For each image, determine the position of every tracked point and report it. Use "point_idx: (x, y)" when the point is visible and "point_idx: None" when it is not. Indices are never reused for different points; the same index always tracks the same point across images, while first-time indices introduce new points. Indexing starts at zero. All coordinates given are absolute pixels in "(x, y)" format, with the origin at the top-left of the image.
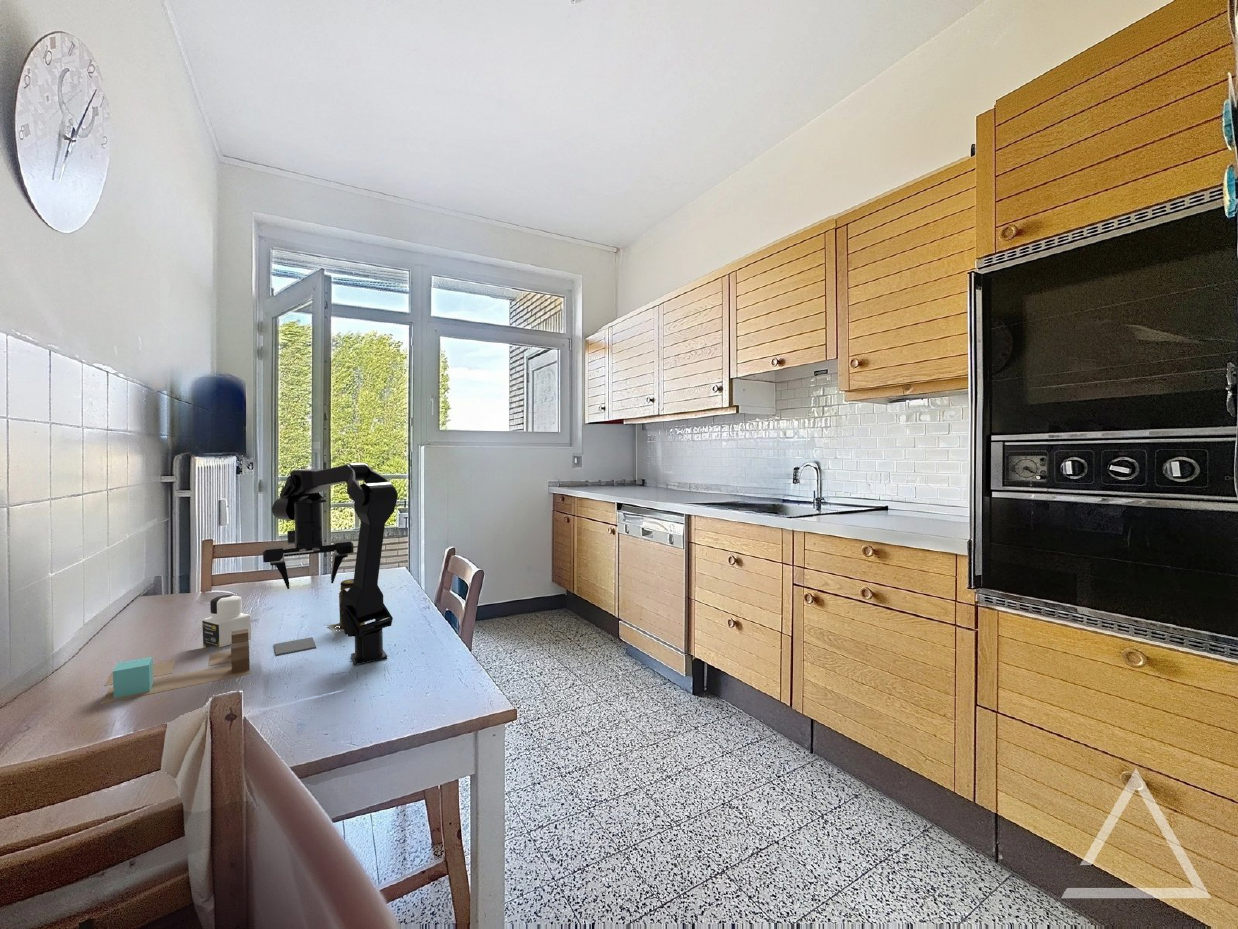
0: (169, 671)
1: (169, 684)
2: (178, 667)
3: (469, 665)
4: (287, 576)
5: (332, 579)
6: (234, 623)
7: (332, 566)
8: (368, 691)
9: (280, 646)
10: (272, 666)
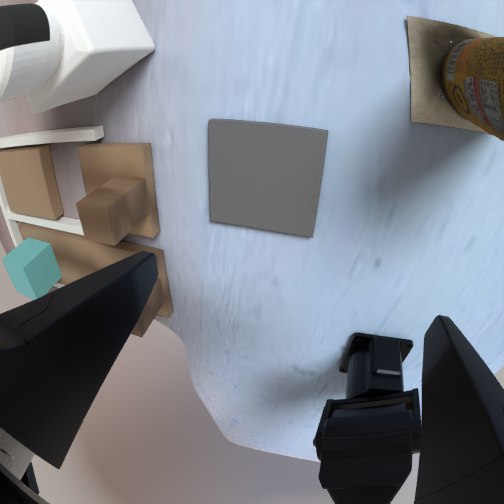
0: (49, 209)
1: (72, 270)
2: (52, 145)
3: None
4: (108, 369)
5: (428, 368)
6: (67, 86)
7: (449, 453)
8: (310, 419)
9: (224, 159)
10: (205, 270)
